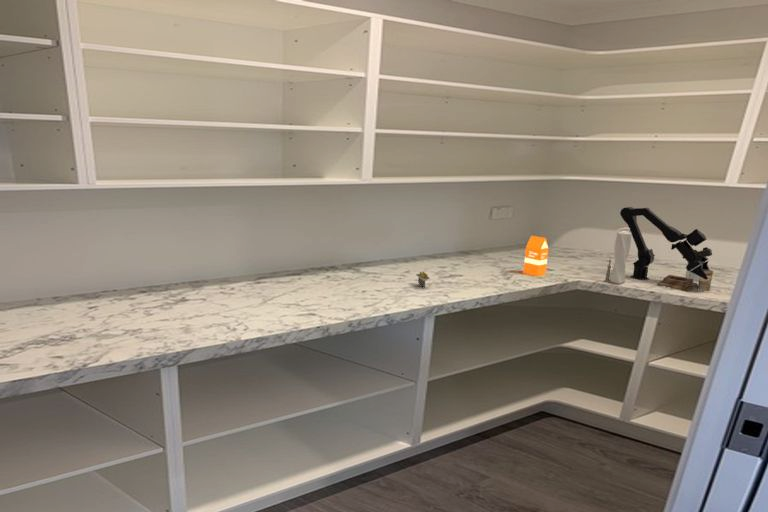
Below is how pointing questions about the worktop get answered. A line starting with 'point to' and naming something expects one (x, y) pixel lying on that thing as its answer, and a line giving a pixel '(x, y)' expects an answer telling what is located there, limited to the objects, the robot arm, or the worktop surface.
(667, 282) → the walnut dock
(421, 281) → the olive brown upright piece
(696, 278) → the syrup box
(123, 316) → the worktop surface
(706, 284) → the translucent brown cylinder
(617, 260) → the skyscraper
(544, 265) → the orange juice
